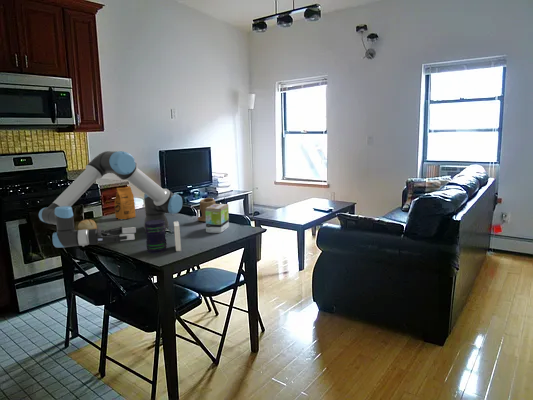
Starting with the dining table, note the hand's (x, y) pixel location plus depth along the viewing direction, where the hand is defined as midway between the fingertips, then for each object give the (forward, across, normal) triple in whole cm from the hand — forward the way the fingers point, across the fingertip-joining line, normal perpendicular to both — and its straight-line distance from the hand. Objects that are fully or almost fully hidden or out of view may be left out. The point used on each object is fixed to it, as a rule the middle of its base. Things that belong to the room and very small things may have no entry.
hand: (135, 232), depth 199 cm
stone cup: (+44, -58, -10) cm, 73 cm away
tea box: (+45, -31, -10) cm, 56 cm away
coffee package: (-11, -88, -10) cm, 89 cm away
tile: (+20, 0, -10) cm, 23 cm away
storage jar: (+10, 0, -10) cm, 14 cm away
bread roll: (-31, -54, -10) cm, 63 cm away
